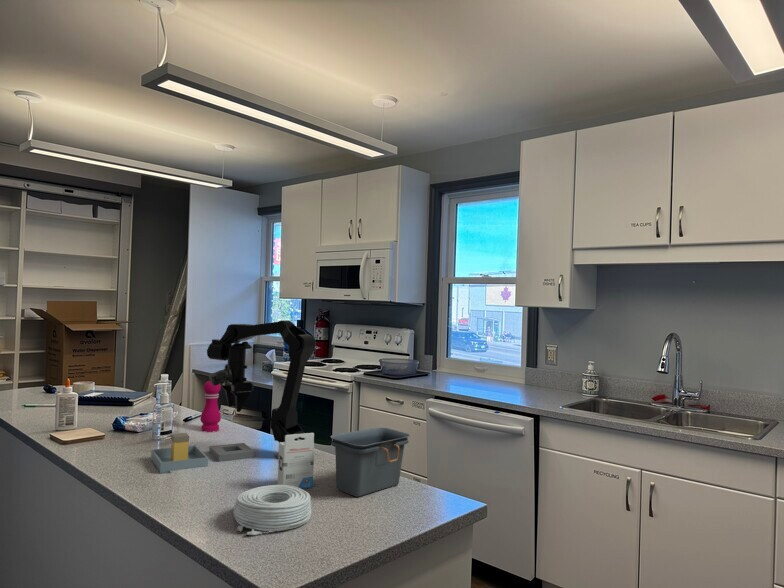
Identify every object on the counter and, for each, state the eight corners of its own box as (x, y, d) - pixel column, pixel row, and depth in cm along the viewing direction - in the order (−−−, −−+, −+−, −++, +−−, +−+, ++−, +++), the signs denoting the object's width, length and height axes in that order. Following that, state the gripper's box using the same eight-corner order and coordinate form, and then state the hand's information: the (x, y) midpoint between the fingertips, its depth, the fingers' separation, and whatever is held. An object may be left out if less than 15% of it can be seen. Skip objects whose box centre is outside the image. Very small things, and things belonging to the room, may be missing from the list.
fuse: (187, 463, 165) (189, 435, 166) (173, 464, 163) (174, 437, 163) (184, 459, 169) (185, 432, 169) (169, 460, 167) (171, 434, 167)
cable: (239, 540, 117) (240, 511, 117) (227, 510, 133) (228, 484, 133) (320, 530, 124) (321, 502, 124) (299, 502, 140) (300, 478, 140)
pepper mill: (224, 430, 209) (226, 376, 210) (208, 433, 203) (211, 378, 204) (211, 426, 213) (213, 374, 214) (195, 430, 207) (198, 376, 207)
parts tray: (207, 467, 163) (208, 457, 163) (160, 473, 156) (160, 462, 156) (195, 454, 176) (195, 445, 176) (150, 459, 169) (151, 449, 169)
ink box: (307, 482, 155) (309, 428, 155) (313, 487, 150) (315, 432, 151) (276, 485, 151) (279, 430, 151) (281, 491, 146) (284, 434, 147)
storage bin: (378, 473, 165) (380, 425, 165) (418, 487, 154) (420, 435, 155) (322, 489, 149) (325, 436, 149) (363, 506, 139) (366, 448, 139)
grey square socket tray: (254, 459, 174) (254, 451, 174) (218, 463, 168) (219, 455, 168) (243, 450, 183) (243, 442, 183) (209, 454, 177) (209, 446, 177)
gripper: (204, 359, 189) (202, 405, 188) (219, 365, 173) (217, 416, 173) (237, 358, 195) (235, 403, 194) (254, 365, 179) (252, 414, 179)
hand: (234, 409), depth 185 cm, fingers open, 9 cm apart
